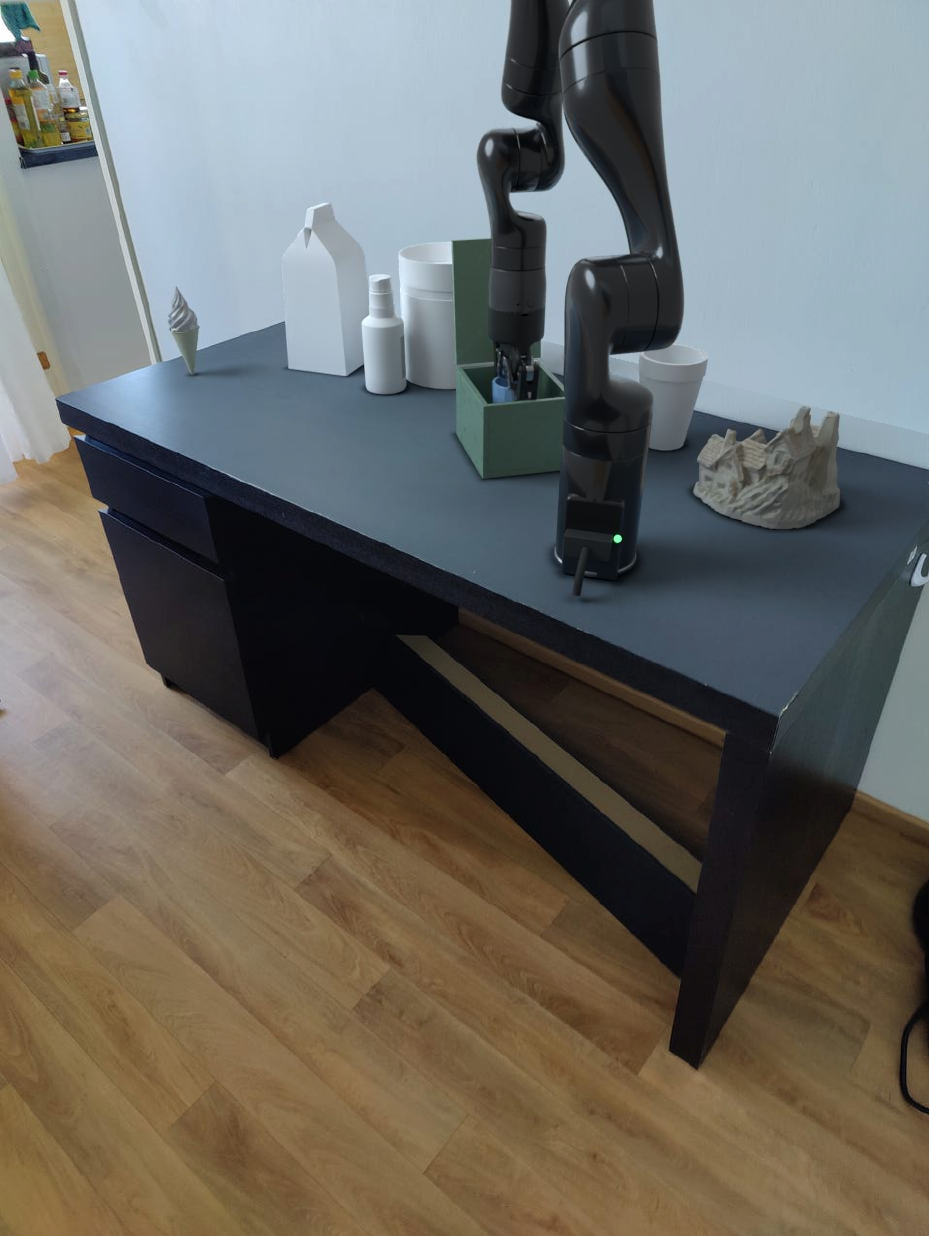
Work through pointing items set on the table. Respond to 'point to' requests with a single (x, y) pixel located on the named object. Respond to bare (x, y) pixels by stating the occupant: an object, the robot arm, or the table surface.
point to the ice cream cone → (184, 329)
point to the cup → (501, 391)
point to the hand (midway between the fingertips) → (513, 423)
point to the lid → (473, 302)
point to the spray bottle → (383, 340)
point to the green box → (509, 424)
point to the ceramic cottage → (773, 474)
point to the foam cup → (672, 391)
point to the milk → (324, 296)
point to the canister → (429, 315)
